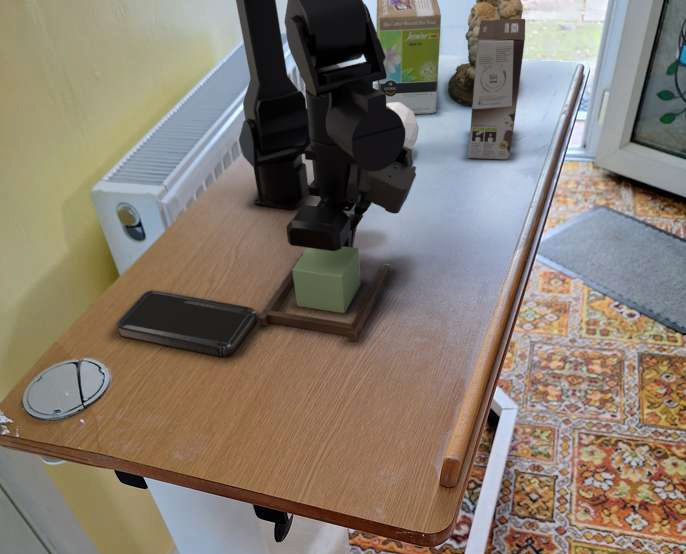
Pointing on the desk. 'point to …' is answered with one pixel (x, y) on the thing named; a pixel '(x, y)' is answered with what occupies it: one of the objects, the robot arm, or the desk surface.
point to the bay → (315, 323)
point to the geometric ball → (406, 122)
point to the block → (327, 278)
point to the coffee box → (496, 87)
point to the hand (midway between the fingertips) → (344, 261)
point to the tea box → (410, 52)
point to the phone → (187, 322)
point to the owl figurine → (490, 5)
